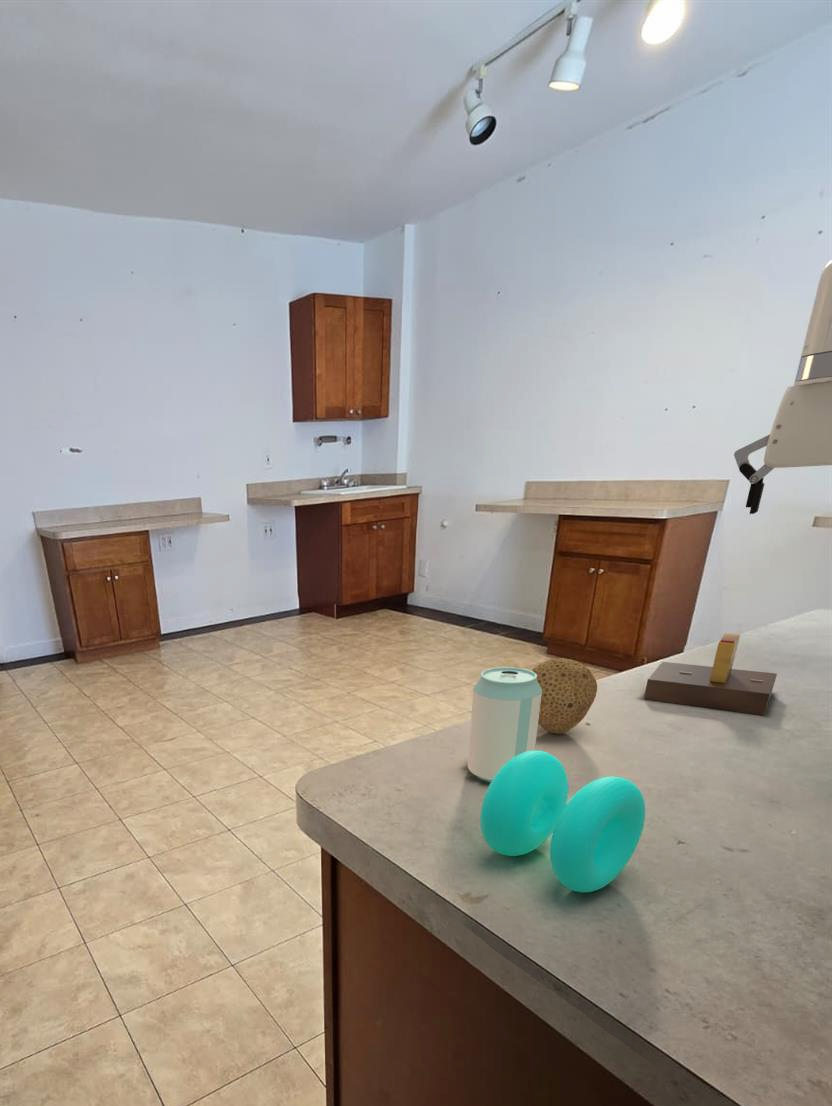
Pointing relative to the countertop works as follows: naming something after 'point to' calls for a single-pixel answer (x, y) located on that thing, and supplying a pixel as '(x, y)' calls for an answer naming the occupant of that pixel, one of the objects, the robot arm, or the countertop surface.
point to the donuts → (563, 819)
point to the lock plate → (710, 688)
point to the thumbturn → (724, 657)
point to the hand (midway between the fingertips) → (795, 512)
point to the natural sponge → (564, 693)
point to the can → (502, 719)
